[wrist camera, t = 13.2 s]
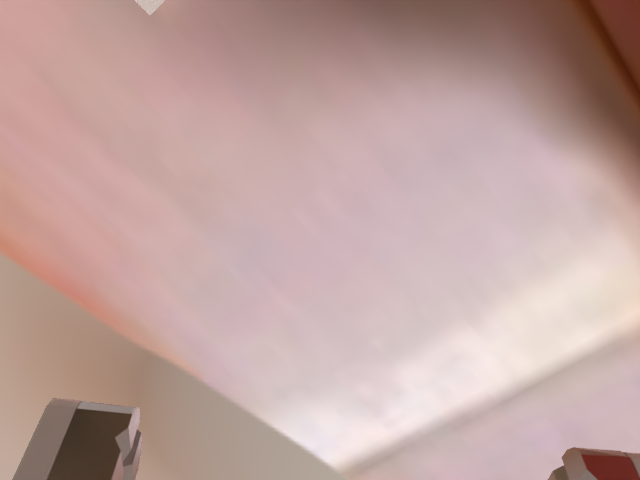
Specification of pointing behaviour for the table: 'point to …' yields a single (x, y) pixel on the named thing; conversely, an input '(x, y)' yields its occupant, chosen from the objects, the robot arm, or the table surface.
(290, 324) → the table surface
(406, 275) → the table surface
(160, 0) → the lever board
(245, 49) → the table surface
